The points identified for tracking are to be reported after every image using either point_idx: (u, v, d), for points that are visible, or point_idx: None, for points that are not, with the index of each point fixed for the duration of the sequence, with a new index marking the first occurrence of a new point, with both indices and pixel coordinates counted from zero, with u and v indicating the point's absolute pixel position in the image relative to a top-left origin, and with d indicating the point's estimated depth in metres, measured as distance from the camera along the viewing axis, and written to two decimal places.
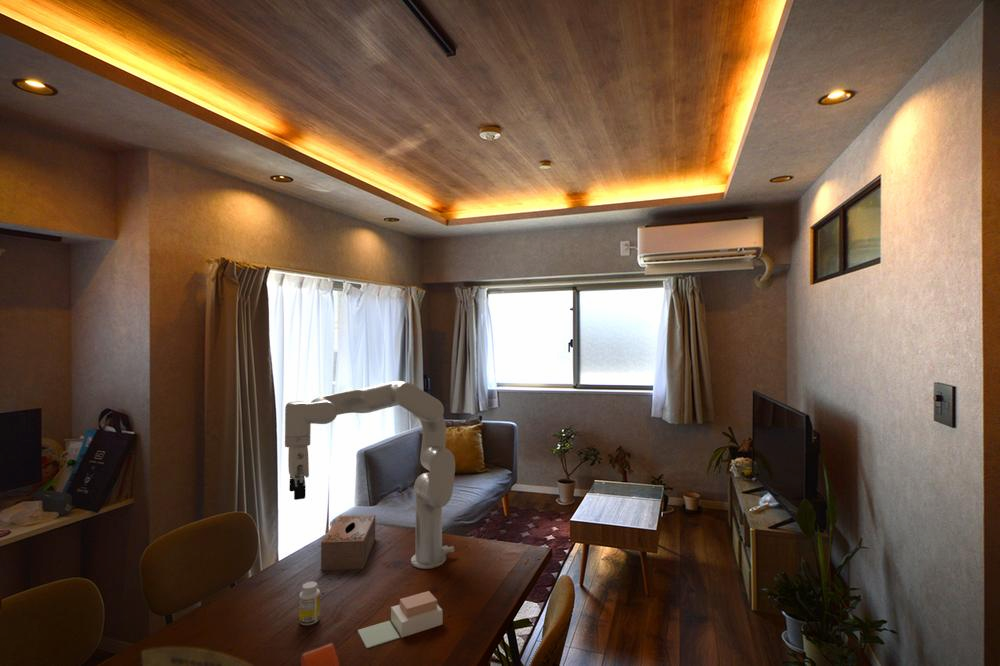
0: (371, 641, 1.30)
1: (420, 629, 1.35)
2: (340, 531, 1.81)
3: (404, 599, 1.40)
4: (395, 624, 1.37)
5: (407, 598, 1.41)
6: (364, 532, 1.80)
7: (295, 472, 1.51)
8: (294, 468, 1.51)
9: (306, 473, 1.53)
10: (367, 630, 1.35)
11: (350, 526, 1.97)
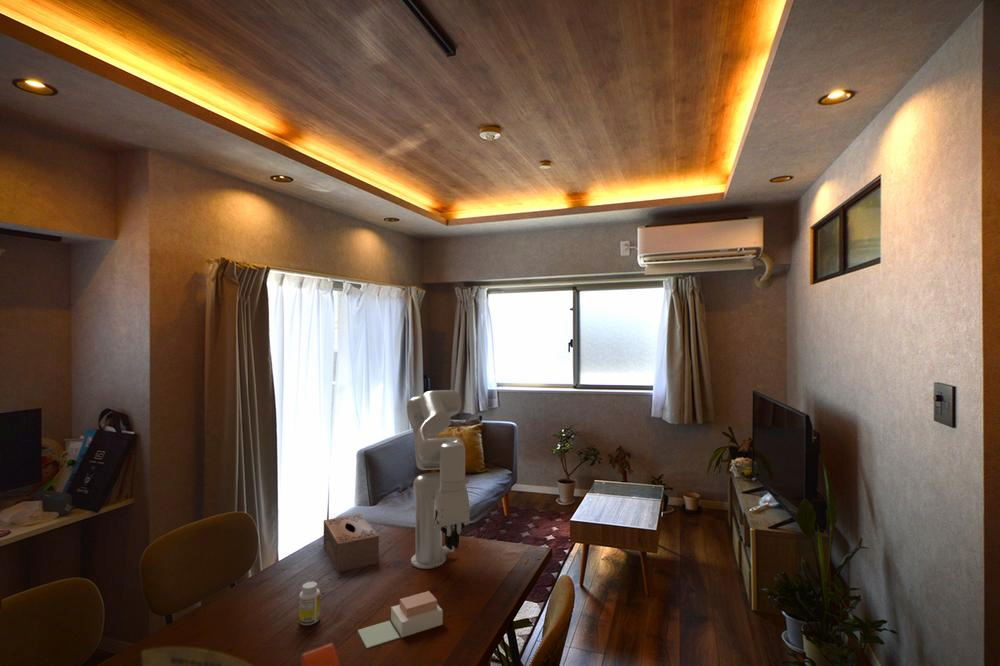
0: (371, 641, 1.30)
1: (420, 629, 1.35)
2: (344, 532, 1.80)
3: (404, 599, 1.40)
4: (395, 624, 1.37)
5: (407, 598, 1.41)
6: (370, 529, 1.83)
7: None
8: (469, 509, 1.47)
9: None
10: (367, 630, 1.35)
11: None
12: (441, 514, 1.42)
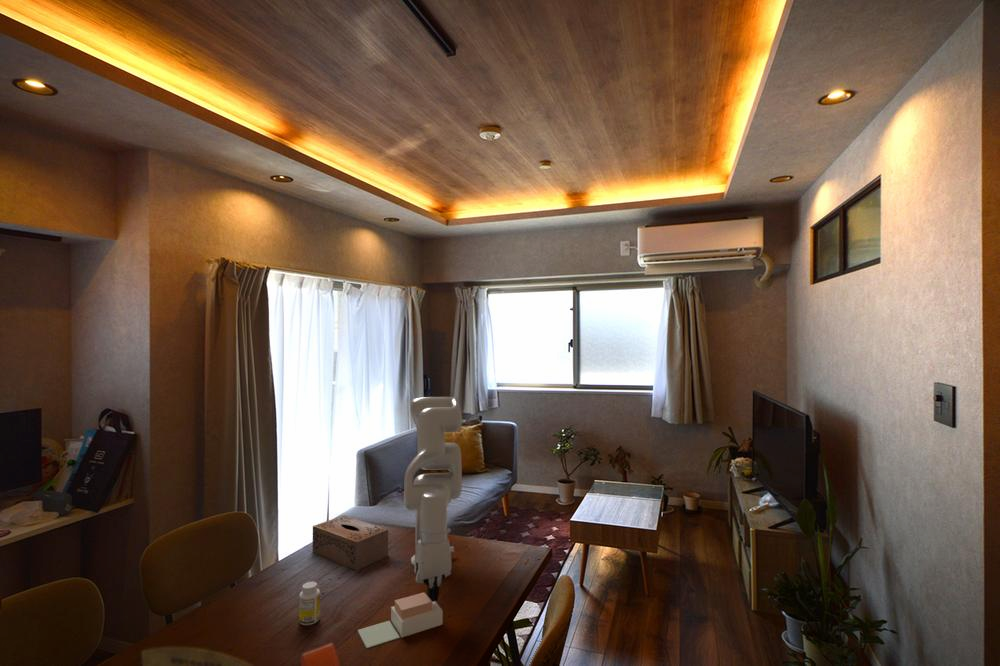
0: (371, 641, 1.30)
1: (420, 629, 1.35)
2: (350, 532, 1.80)
3: (399, 600, 1.39)
4: (395, 624, 1.37)
5: (402, 599, 1.40)
6: (372, 525, 1.87)
7: None
8: None
9: None
10: (367, 630, 1.35)
11: None
12: (422, 567, 1.38)
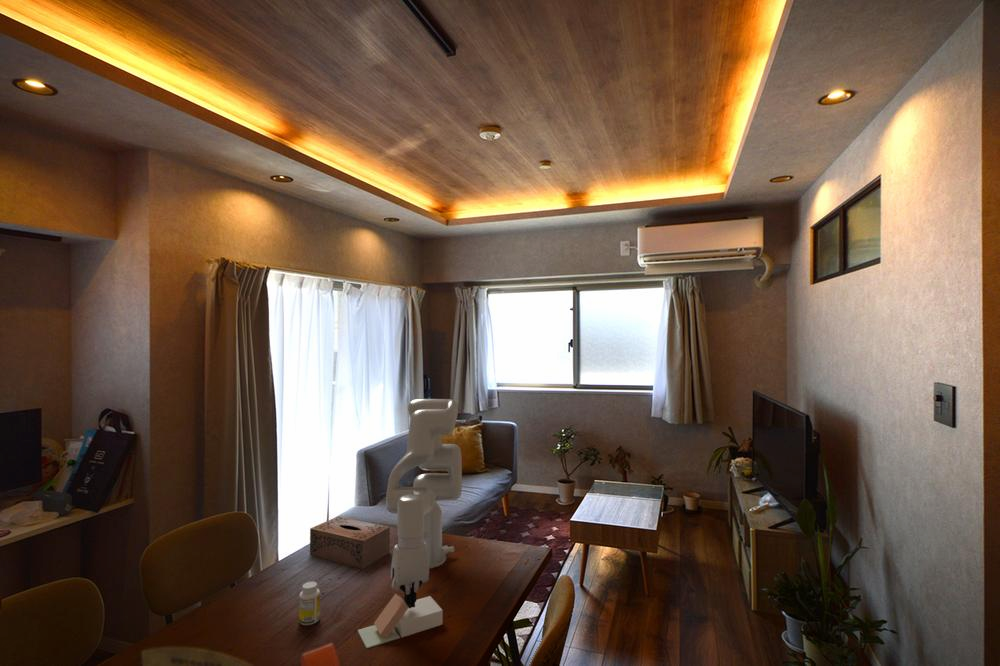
0: (371, 641, 1.30)
1: (420, 629, 1.35)
2: (352, 532, 1.81)
3: (377, 621, 1.35)
4: None
5: (379, 617, 1.36)
6: (371, 524, 1.88)
7: None
8: (428, 565, 1.40)
9: None
10: (367, 630, 1.35)
11: None
12: (398, 573, 1.35)
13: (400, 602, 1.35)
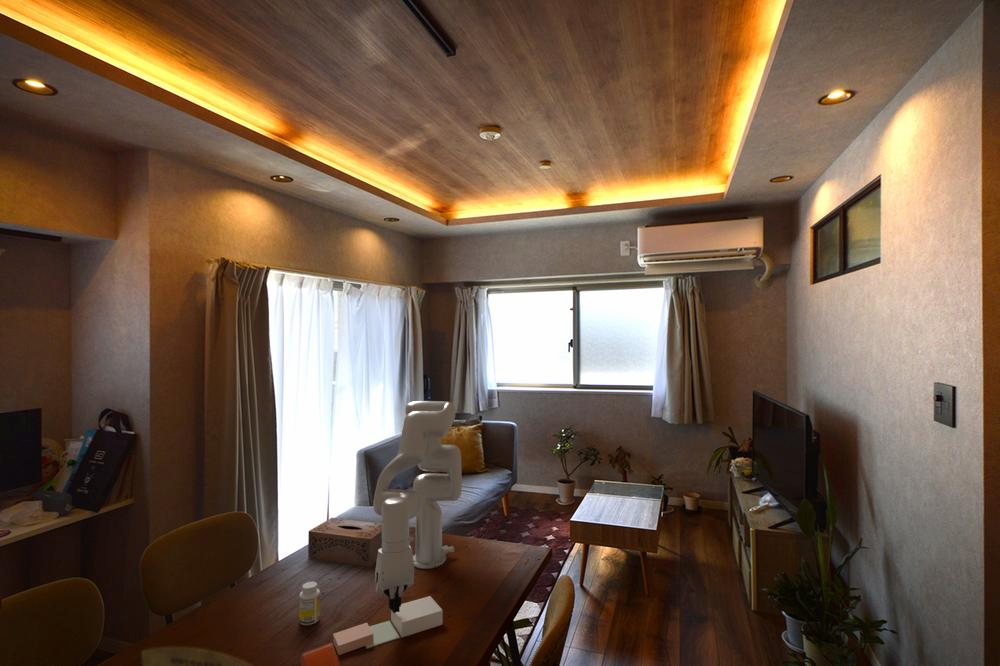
0: None
1: (420, 629, 1.35)
2: (355, 531, 1.81)
3: None
4: (395, 624, 1.37)
5: None
6: (370, 523, 1.89)
7: None
8: (413, 569, 1.38)
9: None
10: None
11: None
12: (381, 577, 1.32)
13: None
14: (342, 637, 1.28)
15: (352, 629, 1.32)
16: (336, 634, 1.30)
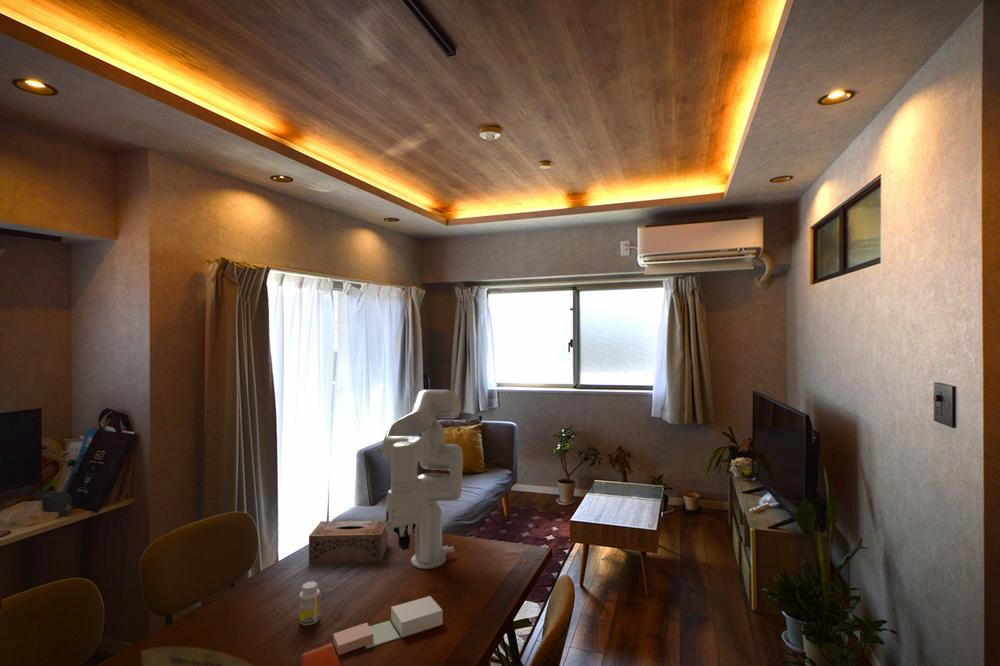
0: None
1: (420, 629, 1.35)
2: (359, 530, 1.82)
3: None
4: (395, 624, 1.37)
5: None
6: (367, 521, 1.91)
7: None
8: (422, 509, 1.44)
9: None
10: None
11: None
12: (392, 515, 1.39)
13: None
14: (342, 637, 1.28)
15: (352, 629, 1.32)
16: (336, 634, 1.30)
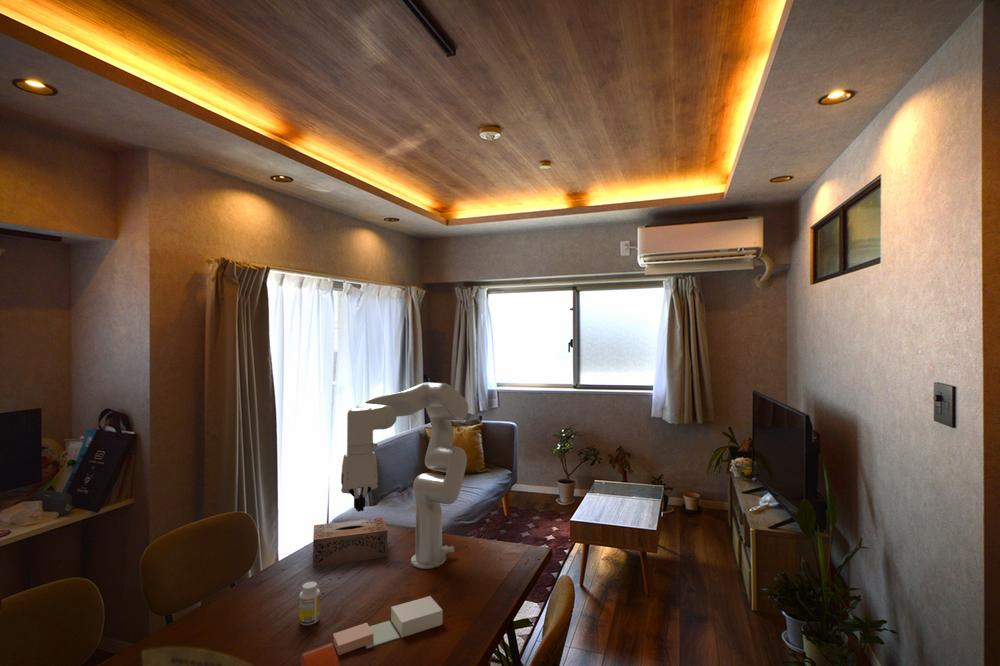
0: None
1: (420, 629, 1.35)
2: (361, 529, 1.83)
3: None
4: (395, 624, 1.37)
5: None
6: (362, 520, 1.92)
7: None
8: (377, 473, 1.49)
9: None
10: None
11: None
12: (346, 477, 1.44)
13: None
14: (342, 637, 1.28)
15: (352, 629, 1.32)
16: (336, 634, 1.30)
